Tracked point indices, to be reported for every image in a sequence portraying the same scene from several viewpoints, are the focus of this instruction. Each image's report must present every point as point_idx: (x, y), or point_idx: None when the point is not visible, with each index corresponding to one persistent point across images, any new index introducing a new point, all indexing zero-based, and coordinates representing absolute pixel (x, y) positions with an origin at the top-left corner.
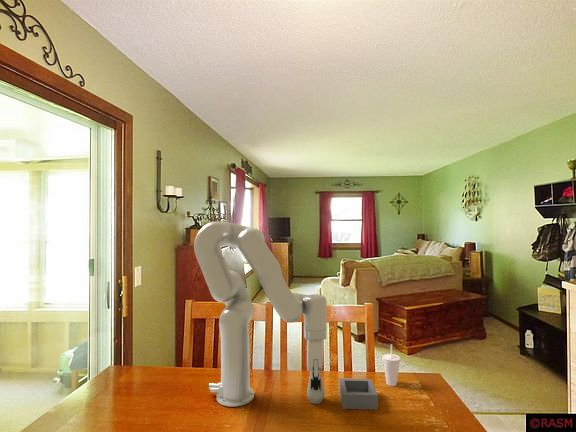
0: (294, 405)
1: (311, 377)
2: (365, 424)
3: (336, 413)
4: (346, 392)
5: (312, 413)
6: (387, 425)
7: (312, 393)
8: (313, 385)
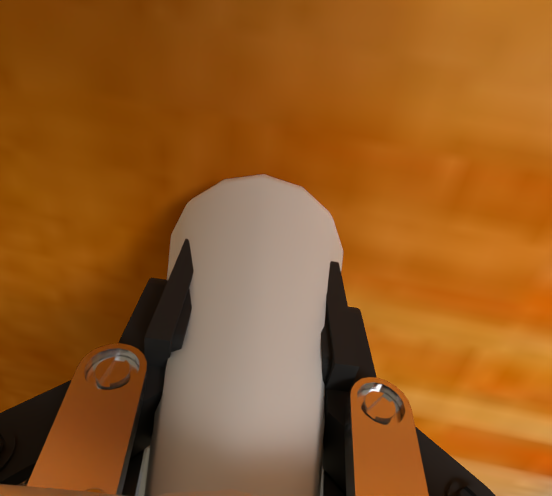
0: (190, 3)
1: (193, 358)
2: (2, 407)
3: (88, 315)
4: (146, 465)
5: (62, 162)
6: None
7: (176, 239)
8: (137, 308)
